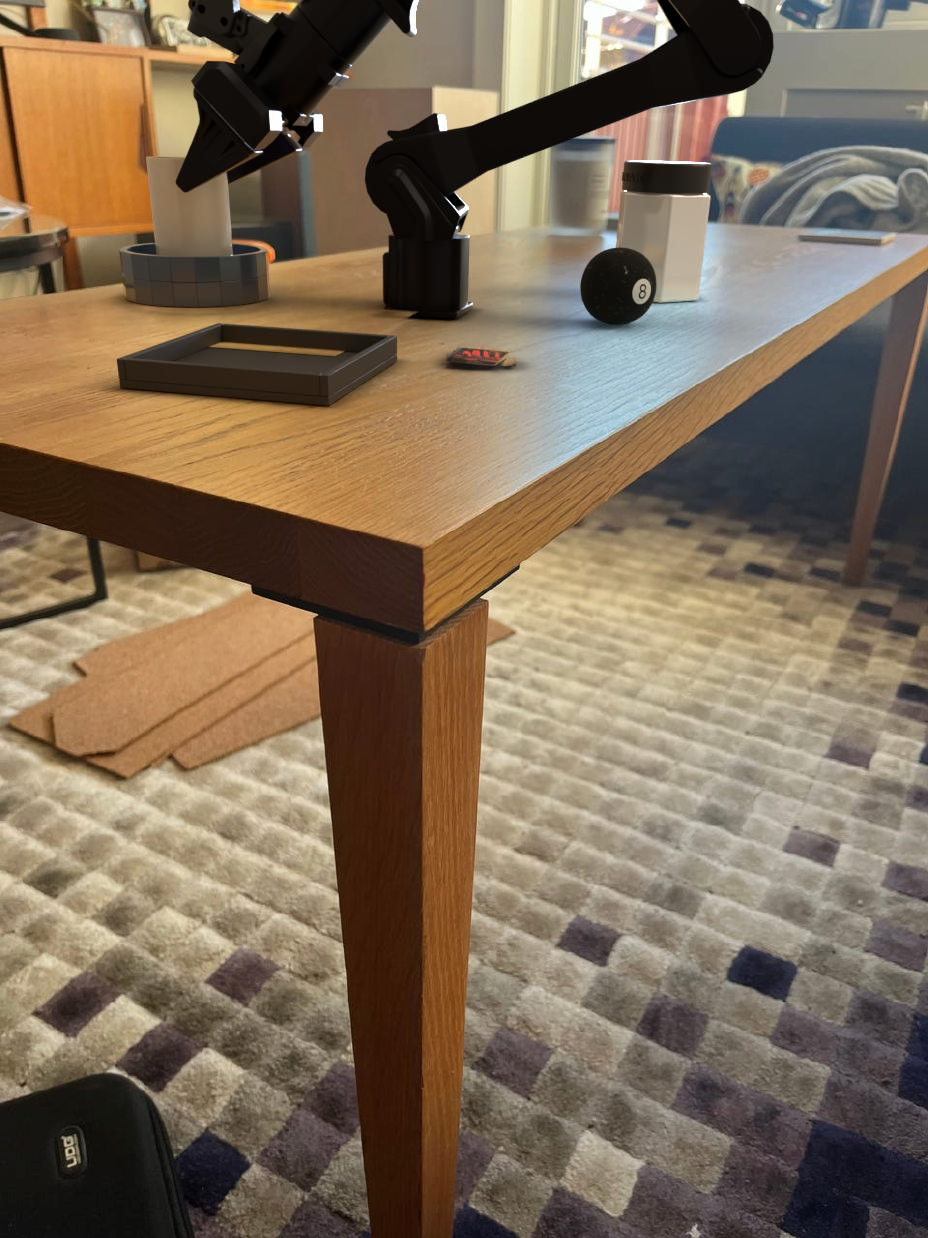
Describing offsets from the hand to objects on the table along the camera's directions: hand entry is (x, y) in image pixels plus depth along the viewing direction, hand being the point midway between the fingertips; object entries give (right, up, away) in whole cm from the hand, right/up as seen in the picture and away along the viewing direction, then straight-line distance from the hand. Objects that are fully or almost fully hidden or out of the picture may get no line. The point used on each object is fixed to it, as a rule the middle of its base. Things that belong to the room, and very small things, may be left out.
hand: (199, 185), depth 83 cm
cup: (-1, -8, +4) cm, 9 cm away
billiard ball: (+35, -12, 0) cm, 37 cm away
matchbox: (+23, -19, -16) cm, 34 cm away
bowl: (-1, -9, +4) cm, 10 cm away
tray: (+10, -21, -20) cm, 31 cm away
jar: (+41, -5, +15) cm, 44 cm away
